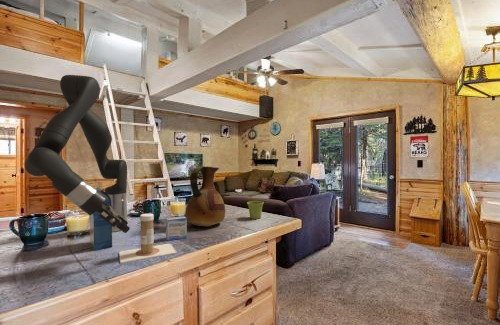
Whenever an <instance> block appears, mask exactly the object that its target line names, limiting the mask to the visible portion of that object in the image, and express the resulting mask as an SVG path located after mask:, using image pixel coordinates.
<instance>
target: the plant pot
mask: <svg viewBox="0 0 500 325" xmlns="http://www.w3.org/2000/svg"><path fill="white" fill-rule="evenodd" d="M246 204H247V206H248V212H249V218H250V219H252V220H257V219H261V218H262V213H263V212H262V211H263V207H264V206H263V205H264V204H265V203H264V201H259V200H253V201H252V200H251V201H247V202H246Z"/></svg>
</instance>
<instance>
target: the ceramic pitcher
mask: <svg viewBox="0 0 500 325" xmlns="http://www.w3.org/2000/svg"><path fill="white" fill-rule="evenodd" d="M219 169H220V167H213V166H204V165H198V166H197V167H196V168H194V169H192V171H191V173H190V175H189V179H190V181H189V182H190V183H189V184H190V188H191V192H192V194H191V195H192V196H191V197H190V198H189V200H188V202H187V204H186V207H185V213H184V215H185V216H184V217H186V218H187V223H189V224H192V225H194V226H200V227H212V226H214V225H217V224H219V223H221V222H223V221H224V220H225V217H226V206H225V203H224V199H223V197H222V196H221V194H220V193H219V191H218V190H216V188H215V185H214V181H215V180H214V179H215V174H216V172H217V171H218V170H219ZM199 173H201V175H202V178H201V179H202V181H201V184H200V188H199V186H198V176H199Z"/></svg>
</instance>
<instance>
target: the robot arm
mask: <svg viewBox="0 0 500 325" xmlns="http://www.w3.org/2000/svg"><path fill="white" fill-rule="evenodd" d="M100 86H101V85H100V84H99V81H98V80H97V79H96V78H94V77H92V76H88V75H81V74H80V75H79V74H66V75H63V76H61V78H60V81H59V87H60V91H61V93H62V95H63V96H62V97H64V99H65V101H66V103H67V104H68V106H67V107H66V108H64V109H62V110H60V111H59V112H58V113H57V114H55V115H54V116H53V117H51V119H49V121H48V122H47V124H46V126H45V128H43V131H42V132H41V133H40V136H39V139H38V141H37V143H36V144H35V146H34V147H33V148H32V150H31V151H30V152H29V154H28V156H27V157H26V159H25V161H24V168H25V171H26V172H27V173H28V174H29V175H30V176H34V177H43V176H46V177H47V178H48V179H49V180H50V181H51V185H52V187H53V188H54V189H55V190H56V191H58V192H59V193H61V194H62V195H63V196H64V197H66V198H67V199H68V200H69V201H70V202H71V203H72V204H73V205H74V206H75V207H77V208H78V209H81V210H82V211H83V212H84V213H86V214H87V215H88V216H90V215H92V214H93V213H95V212H96V211H97V212H99V213H100V215H99V216H100V217H101V218H103V219H104V220H105V221H107V222H108V223H109V224H111V225H112V233H113V232H121V231H122V232H121V233H123V234H126V233H129V231H130V229H131V227H130V226H128V223H129V222H128V205H127V204H128V203H127V202H128V200H127V198H128V197H127V196H128V194H127V189H128V188H127V187H128V164H127V161H126V160H125V159H109V158H108V156H107V153H108V150H109V149H110V147H111V144H112V142H113V141H112V140H113V137H112V134H111V131H110V128H109V126H108V124H107V123H106V122H105V120H103V118H102V117H100V115H98V114H96V113H95V112H94V111H93V110H92V109H91V108H92V107H93V106H94V104H95V103H96V102H97V100H98V98H99V96H100V93H101V87H100ZM78 124H79V125H80V128H81V129H82V132H83V135H84V137H85V139H86V140H87V143H88V145H89V147H90V149H91V151H92V154H93V155H94V158H95V161H96V163H97V167H98V170H99V173H100V176H101V177H102V178H103V179H105V180H116V183H114V184H112V185H110V186H107V187H105V189H104V192H105V193H106V194H108V196H109V197H110V199H111V206H108V205H107V204H106V203H105V202H106V201H107V199H108V198H107V196H105V195H104V194H103V193H102V192H100V191H99V190H98V189H96V188H97V187H96V186H94V185H93V184H91V183H90V182H88V181H87V180H85V179H84V178H83V177H81V176H80V175H79V174H77V173H76V172H75V171H74V170H72V168H71V167H70V165H69V164H68V163H67V162H66V161H65V160H64V159H63V157H61V152H62V150H63V149H64V148H65V147H66V145H67V144H68V142H69V141H70V139H71V136H72V135H73V132H74V130H75V128H76V127H77V126H78ZM104 203H105V204H104Z"/></svg>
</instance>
